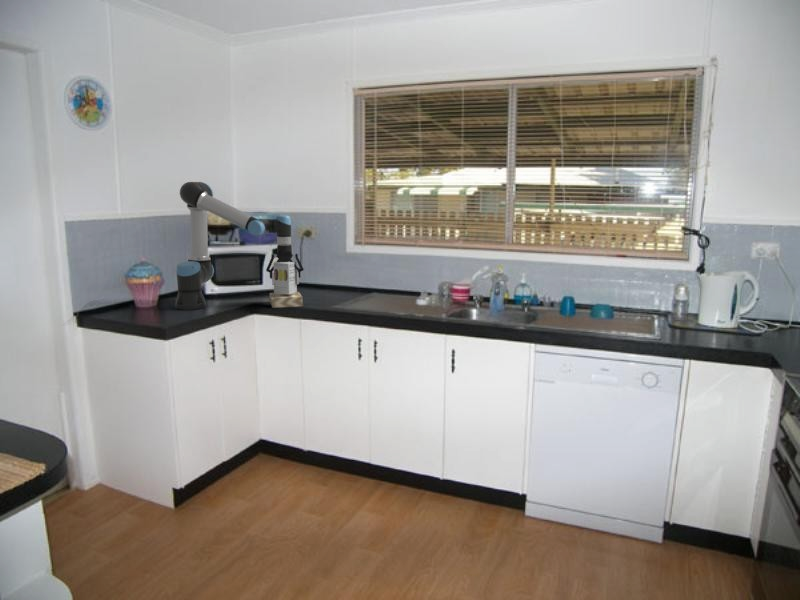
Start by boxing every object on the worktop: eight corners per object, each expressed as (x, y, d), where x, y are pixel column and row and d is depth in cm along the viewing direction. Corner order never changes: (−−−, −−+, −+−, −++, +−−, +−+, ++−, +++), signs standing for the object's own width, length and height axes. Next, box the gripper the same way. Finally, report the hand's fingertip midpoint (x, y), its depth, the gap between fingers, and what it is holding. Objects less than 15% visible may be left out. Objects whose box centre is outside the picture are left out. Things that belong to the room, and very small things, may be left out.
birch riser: (272, 307, 297) (272, 298, 296) (269, 301, 312) (269, 293, 311) (302, 306, 302) (302, 297, 301) (299, 300, 317) (298, 291, 316)
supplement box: (273, 293, 303) (272, 262, 300) (281, 290, 312) (280, 260, 308) (289, 294, 300) (288, 263, 297) (297, 291, 309) (296, 261, 306)
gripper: (261, 245, 294) (262, 286, 298) (308, 244, 301) (309, 284, 305) (260, 244, 301) (261, 283, 305) (306, 243, 308) (307, 282, 312)
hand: (285, 284), depth 305 cm, fingers closed on supplement box, 12 cm apart
